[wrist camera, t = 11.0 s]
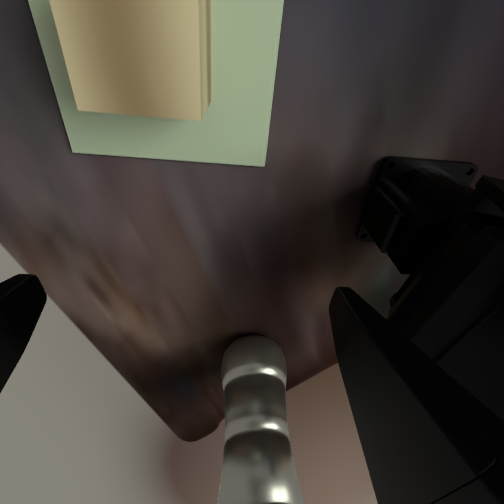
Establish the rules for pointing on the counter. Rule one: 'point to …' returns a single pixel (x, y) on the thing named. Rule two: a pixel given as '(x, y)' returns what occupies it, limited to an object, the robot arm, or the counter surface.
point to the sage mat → (222, 94)
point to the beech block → (137, 55)
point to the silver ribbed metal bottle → (256, 426)
